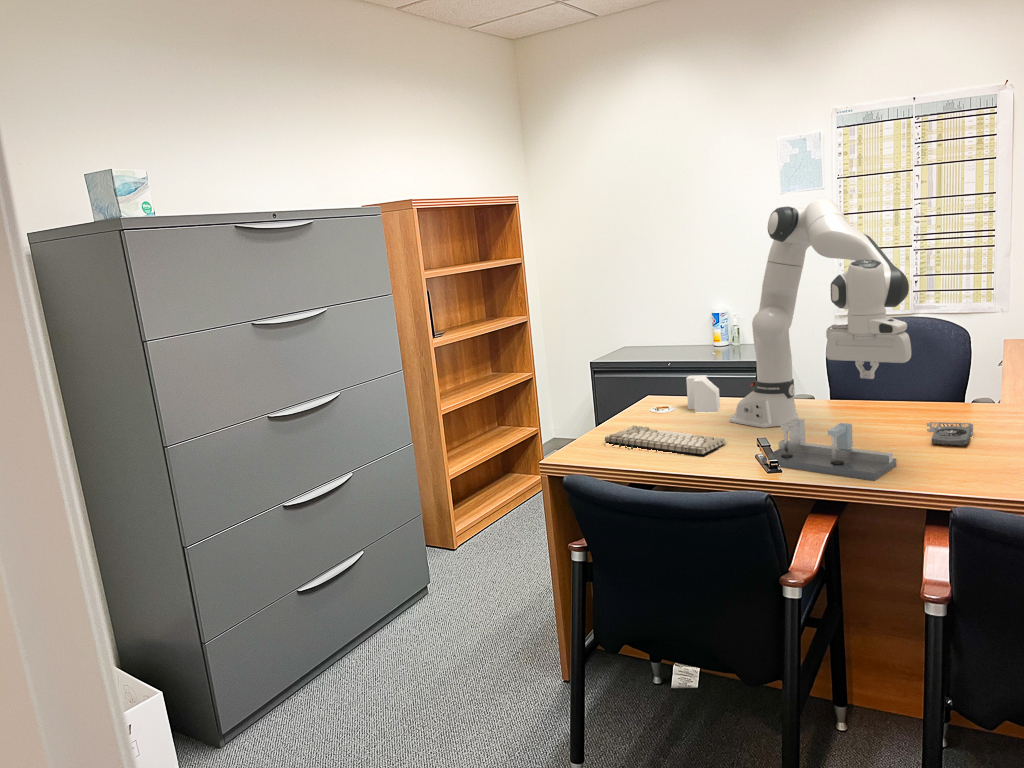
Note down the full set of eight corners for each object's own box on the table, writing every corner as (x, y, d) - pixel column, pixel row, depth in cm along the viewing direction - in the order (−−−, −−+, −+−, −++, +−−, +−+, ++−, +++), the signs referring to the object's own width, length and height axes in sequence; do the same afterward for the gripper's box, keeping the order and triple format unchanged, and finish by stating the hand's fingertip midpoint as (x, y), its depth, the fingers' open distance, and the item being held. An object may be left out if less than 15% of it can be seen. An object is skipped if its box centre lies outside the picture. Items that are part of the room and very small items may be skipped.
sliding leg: (827, 458, 197) (826, 430, 196) (841, 450, 203) (840, 422, 201) (838, 460, 195) (838, 431, 194) (852, 451, 201) (852, 423, 199)
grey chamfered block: (690, 406, 285) (688, 375, 283) (721, 406, 280) (719, 374, 278) (685, 413, 275) (683, 381, 273) (717, 413, 271) (715, 380, 269)
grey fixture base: (762, 464, 208) (761, 426, 206) (787, 451, 217) (785, 415, 215) (874, 480, 186) (873, 439, 184) (896, 465, 195) (895, 426, 193)
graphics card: (927, 421, 222) (974, 422, 215) (927, 433, 223) (974, 434, 216) (919, 436, 209) (969, 437, 202) (919, 449, 209) (969, 451, 202)
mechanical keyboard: (732, 444, 232) (732, 433, 232) (702, 461, 219) (701, 449, 218) (631, 433, 258) (630, 423, 257) (598, 448, 244) (597, 438, 244)
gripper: (820, 326, 195) (822, 378, 197) (904, 326, 180) (904, 383, 182) (831, 322, 199) (832, 373, 201) (913, 323, 184) (913, 378, 186)
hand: (867, 378), depth 192 cm, fingers closed
